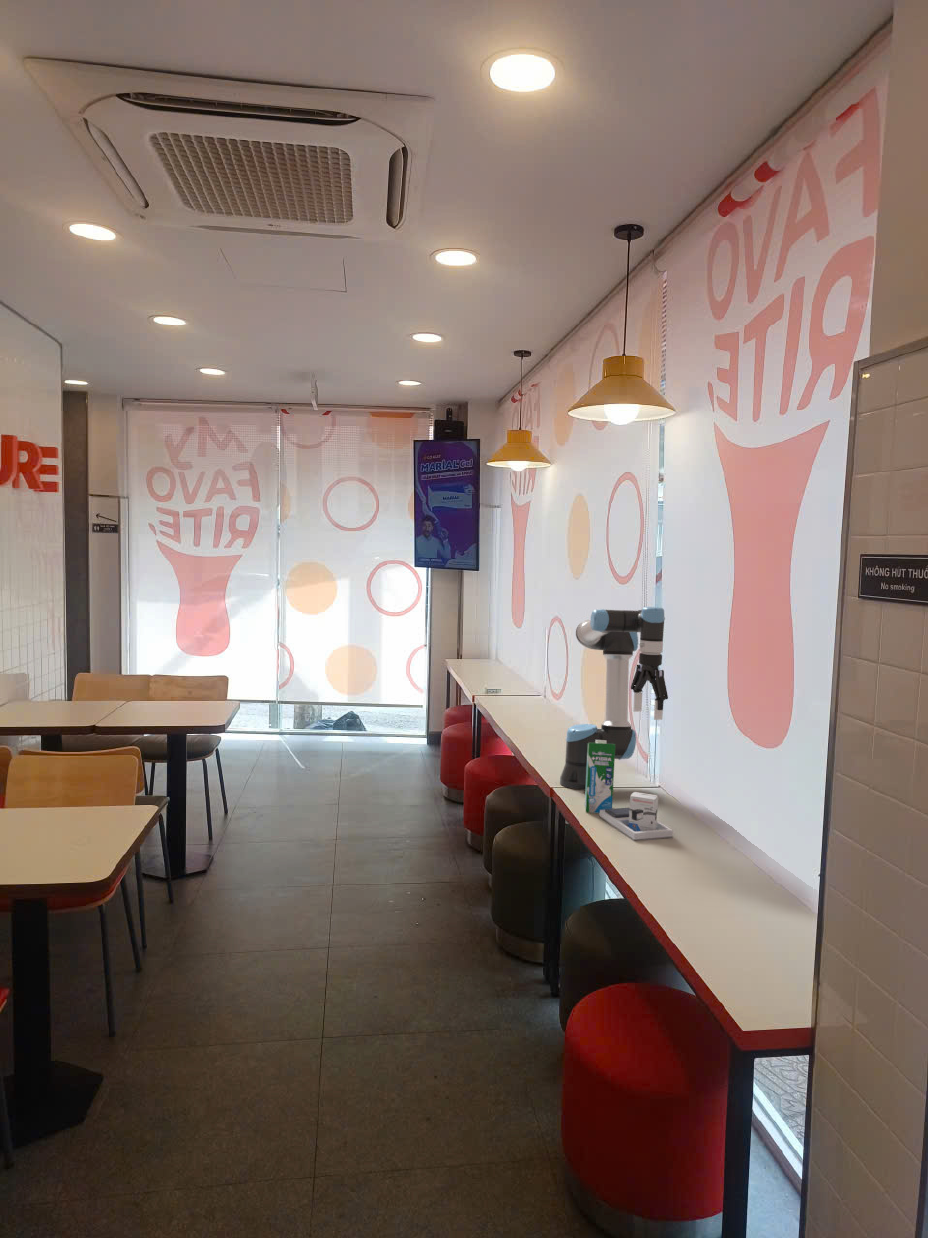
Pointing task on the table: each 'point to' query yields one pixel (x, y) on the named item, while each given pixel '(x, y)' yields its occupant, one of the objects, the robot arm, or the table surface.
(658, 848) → the table surface
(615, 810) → the phone slab
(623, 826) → the socket plate
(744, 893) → the table surface
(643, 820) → the ink box
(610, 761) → the milk carton
